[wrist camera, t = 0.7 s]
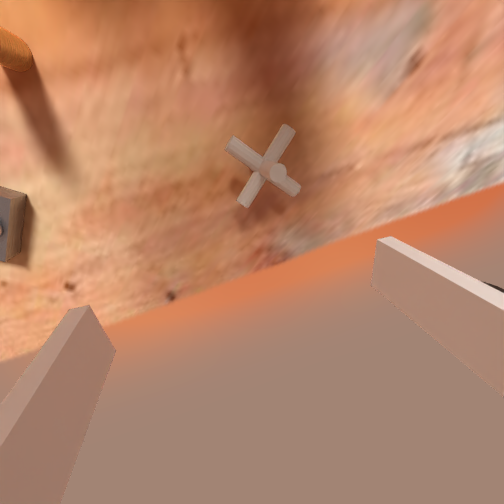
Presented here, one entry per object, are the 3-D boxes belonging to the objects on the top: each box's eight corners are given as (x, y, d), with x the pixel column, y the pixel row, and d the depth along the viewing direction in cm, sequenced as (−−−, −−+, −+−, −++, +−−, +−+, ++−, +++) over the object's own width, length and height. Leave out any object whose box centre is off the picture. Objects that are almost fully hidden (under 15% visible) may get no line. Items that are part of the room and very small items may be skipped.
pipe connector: (263, 213, 35) (286, 236, 26) (204, 176, 31) (208, 190, 22) (303, 152, 33) (343, 157, 24) (244, 104, 29) (266, 88, 20)
